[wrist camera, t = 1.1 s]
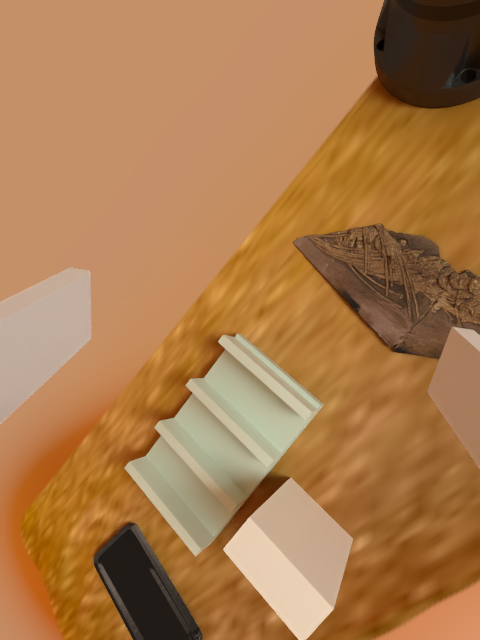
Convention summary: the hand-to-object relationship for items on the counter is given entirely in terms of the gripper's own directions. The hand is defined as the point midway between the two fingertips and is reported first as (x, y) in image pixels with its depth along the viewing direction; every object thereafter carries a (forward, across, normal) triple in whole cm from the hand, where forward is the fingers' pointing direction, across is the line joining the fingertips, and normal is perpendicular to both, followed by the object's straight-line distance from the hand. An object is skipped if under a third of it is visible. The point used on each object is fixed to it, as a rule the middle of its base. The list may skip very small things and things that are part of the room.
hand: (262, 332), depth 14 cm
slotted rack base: (+22, -1, -23) cm, 32 cm away
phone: (+16, -7, -43) cm, 46 cm away
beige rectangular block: (+16, +9, -27) cm, 32 cm away
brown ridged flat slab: (+25, +14, -4) cm, 29 cm away
